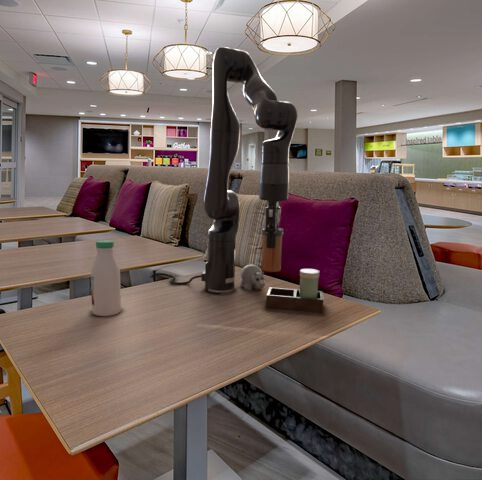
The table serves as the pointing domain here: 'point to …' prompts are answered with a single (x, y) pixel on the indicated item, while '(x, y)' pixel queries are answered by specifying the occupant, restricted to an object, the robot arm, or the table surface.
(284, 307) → the jar stand
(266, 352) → the table surface
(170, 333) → the table surface
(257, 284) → the chubby cartoon animal
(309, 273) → the green jar
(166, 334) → the table surface
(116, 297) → the milk bottle
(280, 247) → the amber jar
